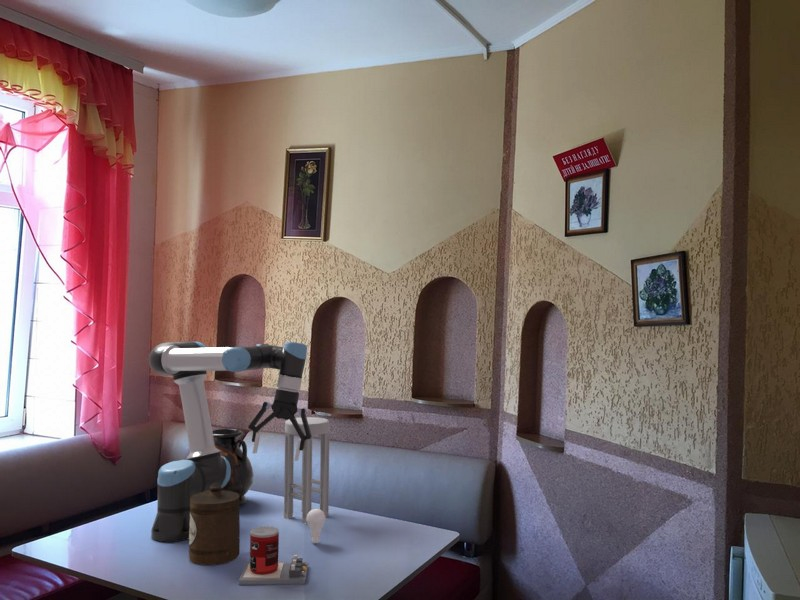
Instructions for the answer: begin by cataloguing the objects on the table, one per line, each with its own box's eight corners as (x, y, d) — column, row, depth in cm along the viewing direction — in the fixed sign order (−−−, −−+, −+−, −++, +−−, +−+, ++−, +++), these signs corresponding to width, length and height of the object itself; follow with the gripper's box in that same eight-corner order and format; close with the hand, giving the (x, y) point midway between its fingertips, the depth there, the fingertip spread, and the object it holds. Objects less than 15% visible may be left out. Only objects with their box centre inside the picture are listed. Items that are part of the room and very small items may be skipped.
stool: (305, 507, 249) (307, 415, 250) (336, 515, 240) (337, 419, 240) (275, 518, 237) (277, 420, 237) (306, 526, 227) (308, 425, 228)
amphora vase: (263, 500, 258) (264, 428, 259) (231, 516, 238) (232, 438, 239) (218, 494, 266) (219, 424, 266) (182, 509, 246) (184, 434, 246)
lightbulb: (321, 547, 208) (322, 512, 208) (303, 545, 209) (303, 511, 209) (327, 540, 214) (327, 507, 214) (309, 539, 215) (310, 505, 215)
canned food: (251, 564, 189) (252, 526, 190) (279, 564, 190) (280, 525, 190) (247, 575, 182) (248, 535, 182) (276, 574, 183) (277, 535, 183)
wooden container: (198, 547, 207) (199, 477, 208) (245, 548, 207) (246, 478, 207) (181, 565, 193) (182, 490, 193) (231, 566, 192) (232, 491, 192)
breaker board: (238, 584, 179) (238, 569, 180) (246, 567, 191) (246, 552, 192) (304, 583, 181) (305, 568, 181) (308, 566, 193) (308, 552, 193)
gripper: (327, 396, 214) (315, 462, 211) (253, 383, 215) (240, 448, 213) (324, 396, 206) (311, 464, 204) (247, 383, 208) (233, 450, 205)
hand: (275, 456), depth 208 cm, fingers open, 13 cm apart
